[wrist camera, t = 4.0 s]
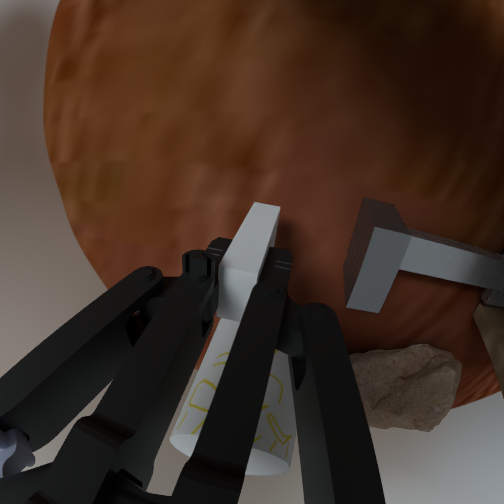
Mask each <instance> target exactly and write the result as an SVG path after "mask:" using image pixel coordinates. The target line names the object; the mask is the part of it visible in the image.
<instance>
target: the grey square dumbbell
mask: <svg viewBox="0 0 504 504" xmlns="http://www.w3.org/2000/svg"><path fill="white" fill-rule="evenodd" d="M399 269H400V270H405V271H410V272H414V273H419V274H424V275H429V276H433V277H438V278H443V279H447V280H452V281H456V282H461V283H465V284H470V285H474V286H479V287H483V288H485V289H484V291H483V293H482V294H481V298H482V300H483V302H484V304H488V305H493V306H499V307H504V252H503V254H502V255H501V254H498V253H494V252H491V251H488V250H485V249H482V248H479V247H475V246H472V245H469V244H465V243H462V242H459V241H455V240H452V239H448V238H445V237H441V236H437V235H434V234H430V233H426V232H422V231H419V230H415V229H411V228H407V226H406V224H405V223H404V221H403V219H402V218H401V216H400V214H399V213H398V211H397V209H396V208H395V206H394V205H393V204H389V203H385V202H381V201H377V200H373V199H369V198H364V197H363V200H362V204H361V207H360V211H359V215H358V219H357V222H356V226H355V229H354V233H353V236H352V239H351V243H350V246H349V249H348V253H347V256H346V259H345V262H344V265H343V274H344V285H345V299H346V308H352V309H358V310H363V311H369V312H375V313H379V311H380V309H381V307H382V305H383V303H384V301H385V299H386V297H387V295H388V292H389V290H390V288H391V286H392V284H393V281H394V279H395V277H396V274H397V272H398V270H399Z"/></svg>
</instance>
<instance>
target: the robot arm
mask: <svg viewBox="0 0 504 504" xmlns="http://www.w3.org/2000/svg"><path fill="white" fill-rule="evenodd" d="M279 213H280V207H278V206H273V205H267V204H262V203H256V202H254V204H253V206H252V208H251V209H250V211H249V213H248V214H247V216H246V218H245V220H244V222H243V223H242V225H241V227H240V229H239V230H238V232H237V234H236V236H235V237H234V239H233V240H231V239H226V238H221V237H218V238H217V239H215V240H213V241H212V242H211V243H210V245H209V246H208V248H207V249H206V251H205V250H191V251H188V252H186V253H185V254H183V255H182V265H183V273H182V275H181V276H179V277H163V274H162V272H161V270H159V269H158V268H156V267H153V266H145V267H140V268H138V269H136V270H135V271H133V272H132V273H130V274H129V275H128V276H126V277H125V278H124V279H122V280H121V281H120V282H118V283H117V284H115V285H114V286H113V287H111V288H110V289H109V290H107V291H106V292H105V293H103V294H102V295H101V296H99V297H98V298H97V299H96V300H94V301H93V302H92V303H90V304H89V305H88V306H86V307H85V308H84V309H83V310H81V311H80V312H79V313H78V314H76V315H75V316H74V317H73V318H71V319H70V320H69V321H68V322H66V323H65V324H64V325H62V326H61V327H60V328H59V329H57V330H56V331H55V332H54V333H52V334H51V335H50V336H49V337H47V339H45V340H44V341H43V342H41V343H40V344H39V345H38V346H37V347H35V348H34V349H33V350H32V351H31V352H30V353H28V354H27V355H26V356H25V357H24V358H23V359H21V360H20V361H19V362H18V363H17V364H16V365H15V366H13V367H12V368H11V369H10V370H9V371H8V372H7V373H6V374H4V375H3V376H2V377H1V378H0V504H237V503H238V499H239V496H240V493H241V489H242V485H243V482H244V477H245V472H246V468H247V465H248V461H249V457H250V454H251V450H252V446H253V442H254V438H255V434H256V430H257V426H258V422H259V418H260V414H261V410H262V406H263V402H264V398H265V393H266V389H267V385H268V380H269V376H270V372H271V367H272V363H273V358H274V353H275V349H277V350H279V351H281V352H283V353H285V354H287V355H288V363H289V371H290V378H291V386H292V394H293V402H294V410H295V419H296V427H297V435H298V444H299V454H300V462H301V472H302V482H303V492H304V502H305V504H386V503H385V498H384V493H383V488H382V483H381V478H380V473H379V468H378V464H377V460H376V455H375V451H374V446H373V442H372V438H371V434H370V430H369V426H368V422H367V418H366V414H365V410H364V406H363V403H362V399H361V395H360V392H359V388H358V385H357V381H356V378H355V374H354V371H353V367H352V364H351V361H350V357H349V354H348V351H347V347H346V344H345V341H344V338H343V335H342V332H341V328H340V325H339V322H338V319H337V316H336V314H335V312H334V311H333V310H332V309H331V308H330V307H329V306H327V305H325V304H322V303H316V302H315V303H309V304H307V305H305V306H304V307H303V306H301V305H299V304H297V303H295V302H294V301H293V300H292V299H291V298H290V297H289V296H288V293H287V287H288V281H289V276H290V270H291V265H292V259H293V256H292V254H291V252H290V250H285V249H280V248H275V247H274V244H275V238H276V232H277V226H278V219H279ZM216 310H217V317H220V318H224V319H228V320H232V321H236V322H240V325H239V327H238V330H237V333H236V336H235V339H234V341H233V344H232V347H231V350H230V352H229V355H228V358H227V361H226V363H225V366H224V369H223V372H222V375H221V377H220V380H219V383H218V385H217V388H216V391H215V394H214V396H213V399H212V402H211V405H210V407H209V410H208V413H207V415H206V418H205V421H204V423H203V426H202V429H201V432H200V434H199V437H198V440H197V442H196V445H195V448H194V450H193V453H192V455H191V457H190V459H189V460H188V461H187V462H186V463H185V465H184V467H183V469H182V471H181V473H180V476H179V478H178V481H177V484H176V486H175V488H174V491H173V493H172V496H165V495H158V494H152V493H148V492H147V491H146V489H147V487H148V485H149V482H150V480H151V477H152V474H153V469H154V460H155V458H156V455H157V453H158V450H159V448H160V446H161V443H162V441H163V439H164V437H165V434H166V432H167V430H168V427H169V425H170V422H171V420H172V418H173V416H174V413H175V411H176V409H177V407H178V404H179V402H180V400H181V397H182V395H183V393H184V391H185V388H186V386H187V384H188V381H189V379H190V377H191V374H192V372H193V370H194V368H195V365H196V363H197V361H198V358H199V356H200V354H201V352H202V349H203V347H204V345H205V343H206V340H207V338H208V336H209V333H210V331H211V329H212V327H213V322H214V314H215V312H216ZM136 311H138V312H137V313H135V312H136ZM134 313H135V314H134ZM133 314H134V315H133ZM112 379H113V381H112ZM111 381H112V382H111ZM110 382H111V384H110V386H109V387H108V389H107V391H106V392H105V394H104V396H103V397H102V400H101V401H100V403H99V404H98V406H97V408H96V409H95V411H94V412H93V414H92V415H90V416H85V417H81V418H80V419H79V420H77V422H76V423H75V424H74V425H73V427H72V429H71V431H70V432H69V434H68V436H67V438H66V439H65V441H64V443H63V445H62V446H61V448H60V450H59V452H58V454H57V456H56V457H55V459H54V461H53V462H51V463H48V464H45V465H42V466H39V467H36V468H33V469H30V470H27V471H23V472H21V471H22V470H23V469H24V468H25V467H26V466H29V467H31V466H33V465H34V464H35V456H34V455H33V453H32V452H34V451H36V450H38V449H40V448H42V447H43V446H45V445H46V444H47V443H49V442H50V441H51V440H52V439H54V438H55V437H56V436H57V435H58V434H59V433H60V432H61V431H62V430H63V429H64V428H65V427H66V426H67V425H68V424H69V423H70V422H71V421H72V420H73V419H74V418H75V417H76V416H77V415H78V414H79V413H80V412H81V411H82V410H83V409H84V408H85V407H86V406H87V405H88V404H89V403H90V402H91V401H92V400H93V399H94V398H95V397H96V396H97V395H98V394H99V393H100V392H101V391H102V390H103V389H104V388H105V387H106V386H107V385H108V384H109V383H110Z"/></svg>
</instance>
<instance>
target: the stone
mask: <svg viewBox="0 0 504 504" xmlns="http://www.w3.org/2000/svg"><path fill="white" fill-rule="evenodd" d="M349 357H350V361H351V364H352V367H353V371H354V374H355V378H356V381H357V385H358V388H359V392H360V395H361V399H362V403H363V406H364V410H365V414H366V418H367V422H368V426H371V427H376V428H382V429H387V428H390V427H398V428H404V429H417V430H420V431H426V432H429V431H431V430H432V429H433V428H434V427H435V426H436V425H438V424H439V423H440V422H441V420H442V419H443V418H444V417H445V416H446V415H447V413H448V412H449V410H450V409H451V407H452V405H453V403H454V400H455V396H456V391H457V388H458V385H459V382H460V379H461V369H462V363H461V362H460V361H458V360H457V359H455V358H454V356H453V354H452V353H451V352H449V351H445V350H441V349H437V348H434V347H432V346H430V345H429V344H418V345H411V346H409V347H407V348H402V349H394V350H381V349H378V350H374V351H368V352H365V353H364V354H363V353H352V354H351V355H349Z"/></svg>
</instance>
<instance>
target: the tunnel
mask: <svg viewBox="0 0 504 504" xmlns="http://www.w3.org/2000/svg"><path fill="white" fill-rule="evenodd" d="M472 316H473V318H474V320H475V322H476V324H477V327H478V329H479V331H480V334H481V336H482V338H483V341H484V343H485V346H486V348H487V351H488V353H489V356H490V359H491V361H492V364H493V367H494V370H495V372H496V375H497V378H498V381H499V385H500V388H501V391H502V394H503V398H504V307H499V306H493V305H488V304H484V303H481V302H480V303H479V305H478V307H477V308H476V310H475V311H474V313H473V315H472Z"/></svg>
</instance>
